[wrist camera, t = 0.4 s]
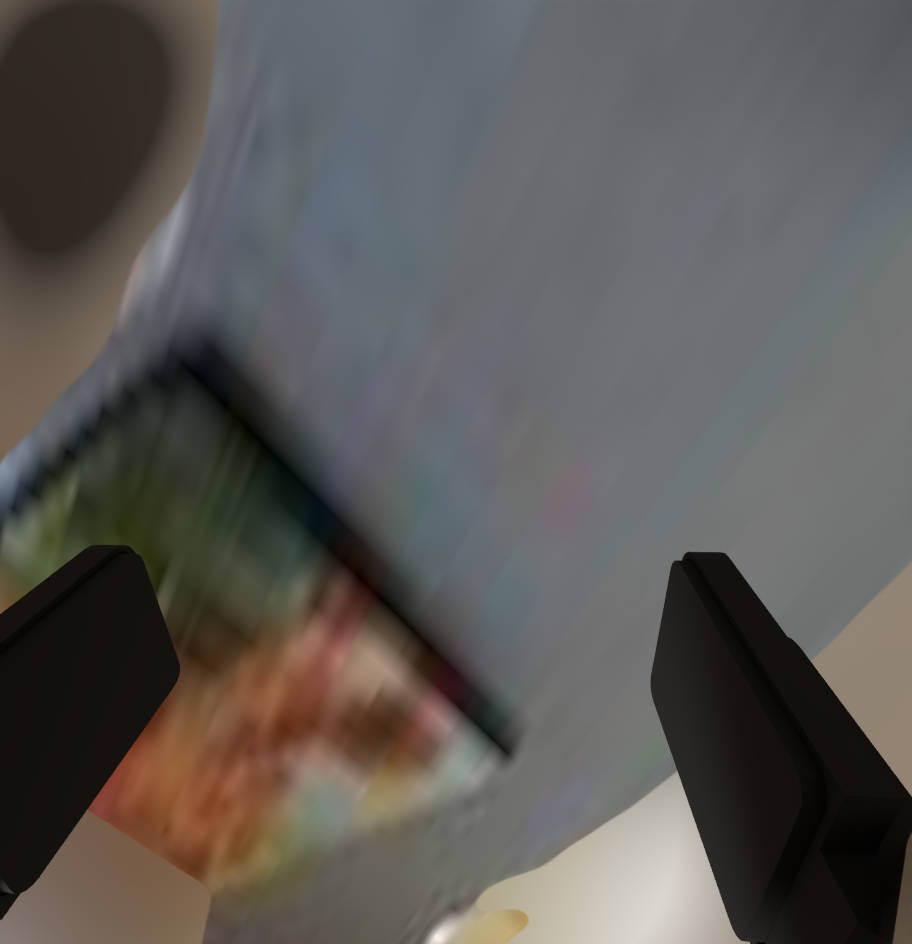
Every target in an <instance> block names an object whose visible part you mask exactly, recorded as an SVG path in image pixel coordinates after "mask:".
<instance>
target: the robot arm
mask: <svg viewBox="0 0 912 944" xmlns="http://www.w3.org/2000/svg"><path fill="white" fill-rule="evenodd" d="M179 673H180V664H179V660H178V658H177V655H176V652H175V649H174V646H173V643H172V641H171V638H170V635H169V632H168V629H167V627H166V624H165V621H164V618H163V615H162V612H161V610H160V607H159V604H158V601H157V598H156V596H155V593H154V590H153V587H152V584H151V581H150V579H149V576H148V573H147V570H146V567H145V564H144V562H143V560H142V558H141V557H140V556H139V555H138V554H135V552H134V550H133V549H132V548H130V547H129V546H125V545H93V546H90V547H88V548H86V549H84V550H83V551H82V552H81V553H79V554H78V555H77V556H75V557H74V558H73V559H71V560H70V561H69V562H68V563H66V564H65V565H64V566H62V567H61V568H60V569H58V570H57V571H56V572H55V573H53V574H52V575H51V576H49V577H48V578H47V579H45V580H44V581H43V582H42V583H40V584H39V585H38V586H36V587H35V588H34V589H32V590H31V591H30V592H29V593H27V594H26V595H25V596H23V597H22V598H21V599H19V600H18V601H17V602H16V603H14V604H13V605H12V606H10V607H9V608H8V609H6V610H5V611H4V612H3V613H1V614H0V920H2V918H3V917H4V916H5V914H6V913H7V911H8V910H9V908H10V907H11V906H12V904H13V903H14V902H15V900H16V899H17V897H18V896H19V895H20V893H22V892H24V891H26V890H27V889H28V888H30V887H31V886H32V885H33V884H34V883H35V882H36V880H37V879H38V878H39V877H40V875H41V874H42V873H43V871H44V870H45V868H46V867H47V865H48V864H49V863H50V861H51V860H52V858H53V857H54V856H55V854H56V853H57V851H58V850H59V848H60V847H61V846H62V844H63V843H64V841H65V840H66V839H67V837H68V836H69V834H70V833H71V832H72V830H73V828H74V827H75V826H76V824H77V823H78V821H79V820H80V819H81V817H82V816H83V815H84V813H85V812H86V810H87V809H88V808H89V806H90V805H91V803H92V802H93V800H94V799H95V798H96V796H97V795H98V793H99V792H100V791H101V789H102V788H103V786H104V785H105V783H106V782H107V781H108V779H109V778H110V776H111V775H112V774H113V772H114V771H115V769H116V768H117V766H118V765H119V764H120V762H121V761H122V759H123V758H124V757H125V755H126V754H127V752H128V751H129V749H130V748H131V747H132V745H133V744H134V742H135V741H136V740H137V738H138V737H139V735H140V734H141V732H142V731H143V730H144V728H145V727H146V725H147V724H148V723H149V721H150V720H151V718H152V717H153V715H154V714H155V713H156V711H157V710H158V708H159V707H160V706H161V704H162V703H163V701H164V700H165V698H166V697H167V696H168V694H169V693H170V691H171V690H172V689H173V687H174V686H175V684H176V682H177V680H178V677H179ZM651 693H652V698H653V701H654V704H655V707H656V710H657V713H658V716H659V718H660V721H661V724H662V727H663V730H664V733H665V736H666V739H667V742H668V744H669V747H670V750H671V753H672V756H673V759H674V762H675V765H676V768H677V770H678V773H679V776H680V779H681V782H682V785H683V788H684V791H685V793H686V796H687V799H688V802H689V805H690V808H691V811H692V814H693V817H694V820H695V822H696V825H697V828H698V831H699V834H700V837H701V840H702V842H703V845H704V848H705V851H706V854H707V857H708V860H709V863H710V866H711V869H712V871H713V874H714V877H715V880H716V883H717V886H718V889H719V891H720V894H721V897H722V900H723V903H724V906H725V909H726V912H727V915H728V917H729V920H730V923H731V926H732V928H733V930H734V932H735V934H736V935H737V937H738V938H739V939H740V940H741V941H748V942H750V944H912V797H911V795H910V794H909V793H908V791H907V790H906V789H905V787H904V786H903V785H902V783H901V782H900V781H899V779H898V778H897V776H896V775H895V774H894V773H893V771H892V770H891V768H890V767H889V766H888V764H887V763H886V762H885V760H884V759H883V758H882V756H881V755H880V754H879V752H878V751H877V750H876V748H875V747H874V746H873V745H872V743H871V742H870V740H869V739H868V738H867V736H866V735H865V734H864V732H863V731H862V730H861V728H860V727H859V726H858V724H857V723H856V722H855V720H854V719H853V718H852V716H851V715H850V714H849V712H848V711H847V710H846V708H845V707H844V706H843V704H842V703H841V702H840V700H839V699H838V698H837V696H836V695H835V694H834V692H833V691H832V690H831V688H830V687H829V686H828V684H827V683H826V682H825V680H824V679H823V677H822V676H821V675H820V674H819V672H818V671H817V669H816V668H815V667H814V665H813V664H812V663H811V661H810V660H809V659H808V657H807V656H806V655H805V653H804V652H803V651H802V649H801V648H800V647H799V646H798V645H797V644H796V643H795V642H794V641H793V640H792V639H791V638H789V637H787V636H786V634H785V633H784V632H783V630H782V629H781V627H780V626H779V625H778V623H777V622H776V621H775V619H774V618H773V617H772V615H771V614H770V613H769V611H768V610H767V608H766V607H765V606H764V604H763V603H762V602H761V600H760V599H759V598H758V596H757V595H756V594H755V592H754V591H753V589H752V588H751V587H750V585H749V584H748V583H747V581H746V580H745V579H744V577H743V576H742V574H741V573H740V572H739V570H738V569H737V568H736V566H735V565H734V564H733V562H732V561H731V560H730V558H729V557H728V556H727V555H726V554H725V553H722V552H687V553H685V555H684V556H683V559H682V561H674V562H673V564H672V566H671V571H670V576H669V582H668V587H667V592H666V598H665V603H664V609H663V614H662V619H661V625H660V630H659V636H658V641H657V647H656V652H655V657H654V663H653V668H652V674H651Z"/></svg>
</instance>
